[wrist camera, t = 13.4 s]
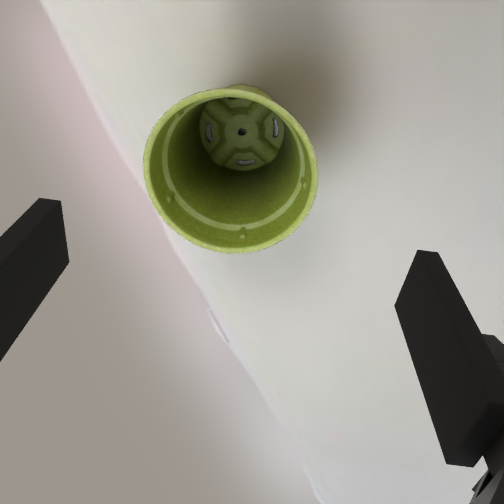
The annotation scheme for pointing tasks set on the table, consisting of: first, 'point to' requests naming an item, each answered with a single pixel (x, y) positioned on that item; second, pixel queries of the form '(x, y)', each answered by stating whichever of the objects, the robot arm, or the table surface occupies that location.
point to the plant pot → (230, 170)
